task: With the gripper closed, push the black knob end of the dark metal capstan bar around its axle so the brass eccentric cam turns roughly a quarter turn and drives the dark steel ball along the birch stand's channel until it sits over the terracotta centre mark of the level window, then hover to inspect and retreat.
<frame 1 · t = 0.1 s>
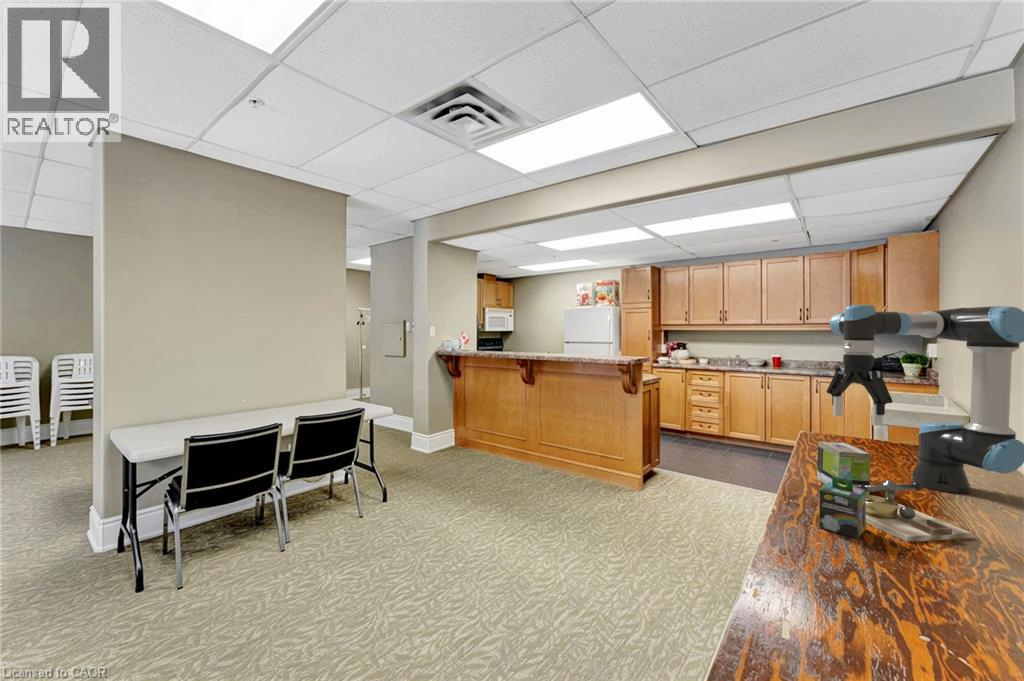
hand: (856, 420, 135), 28 cm above the table, fingers open, 13 cm apart
chalk box: (841, 529, 121), on the table
ball: (907, 512, 124), point 4 cm above the table, slide at 0.0 cm
capstan: (889, 496, 129), point 6 cm above the table, hinge at 0.0°
tea box: (841, 487, 154), on the table
stand board: (889, 517, 129), on the table
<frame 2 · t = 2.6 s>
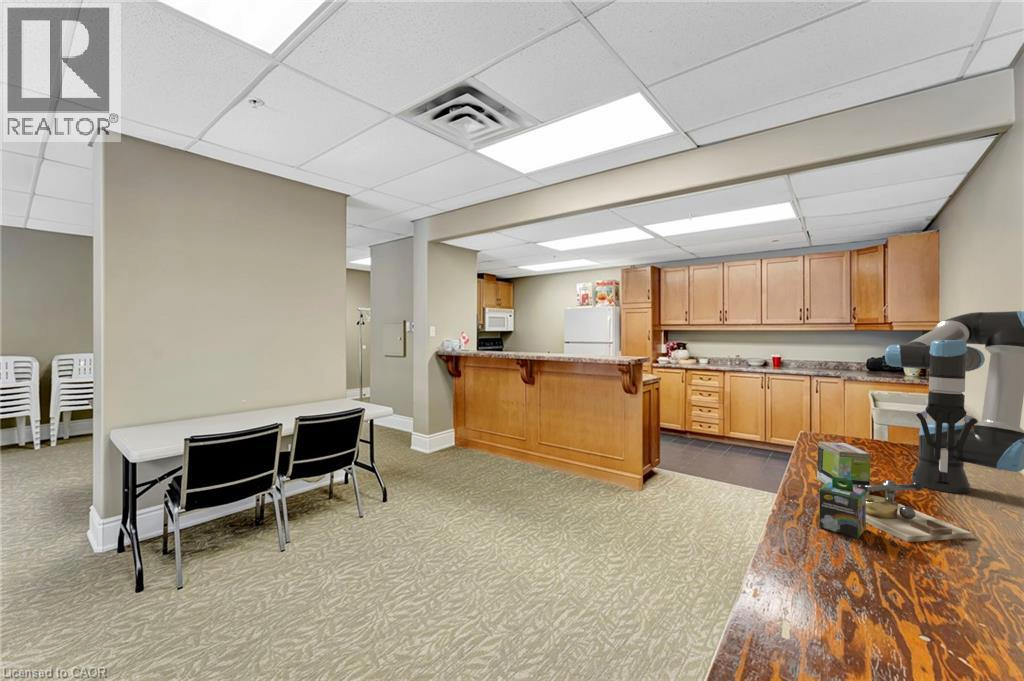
hand: (943, 470, 126), 15 cm above the table, fingers closed
nothing on the table moved.
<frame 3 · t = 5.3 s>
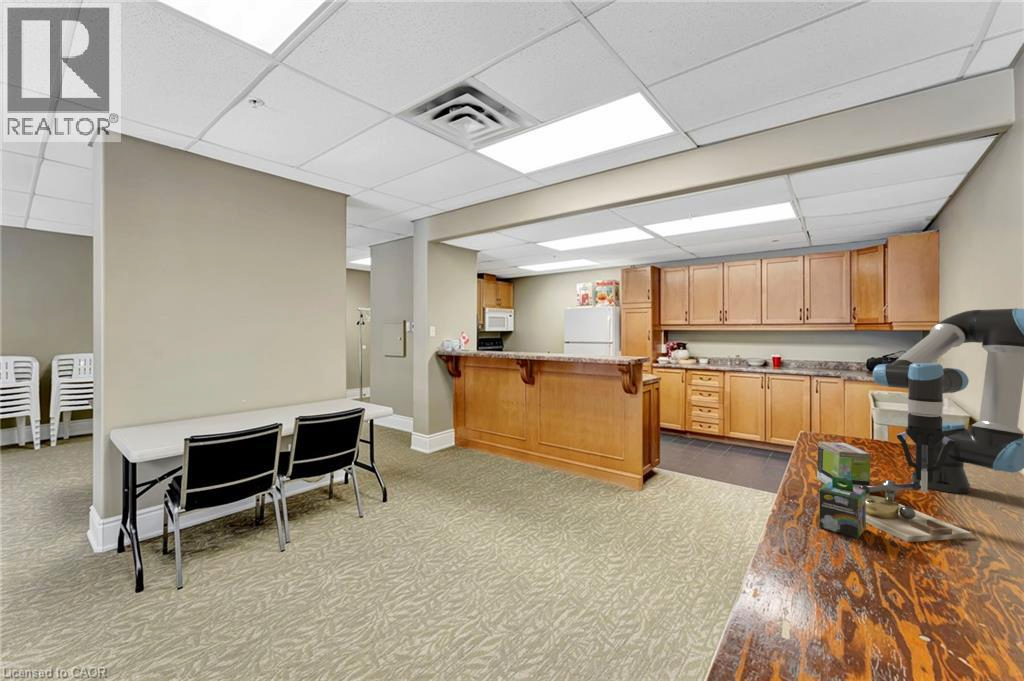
hand: (923, 491, 130), 8 cm above the table, fingers closed
capstan: (889, 496, 129), point 6 cm above the table, hinge at 3.7°, touching gripper
everything else where it was.
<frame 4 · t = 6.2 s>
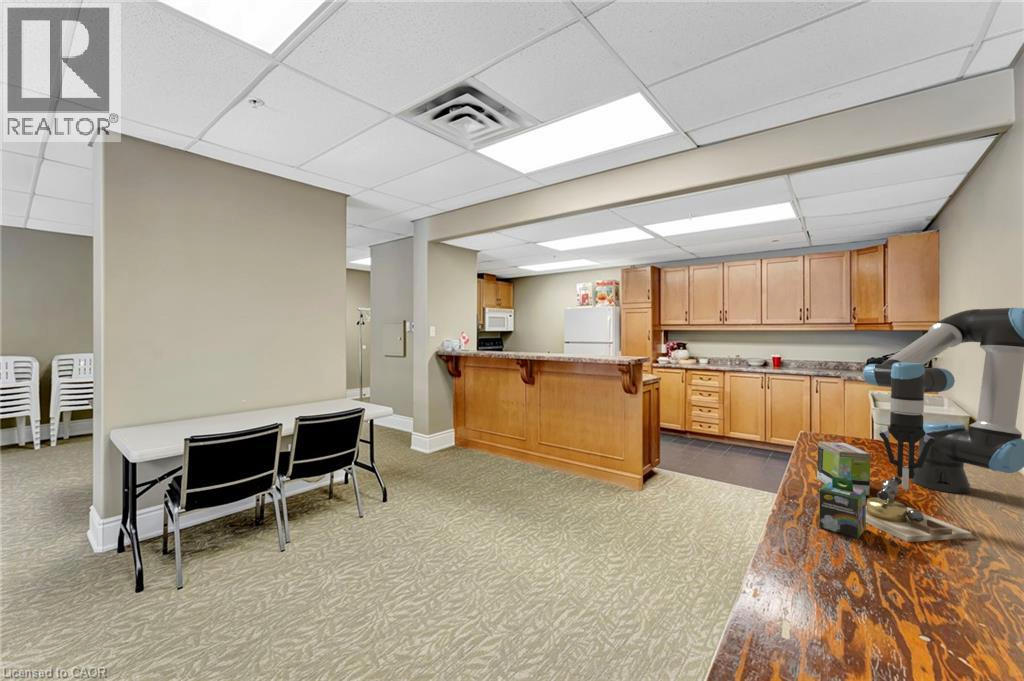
hand: (904, 487, 132), 8 cm above the table, fingers closed
ball: (915, 516, 122), point 4 cm above the table, slide at 2.2 cm
capstan: (889, 496, 129), point 6 cm above the table, hinge at 32.2°, touching gripper
everything else where it was.
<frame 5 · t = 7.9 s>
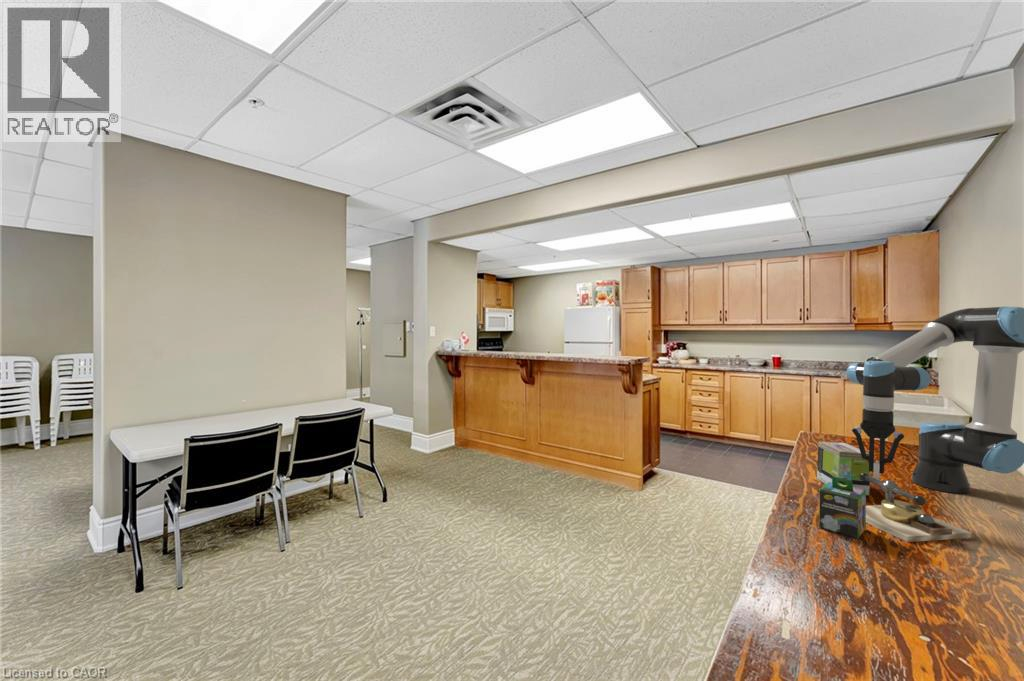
hand: (876, 482, 136), 8 cm above the table, fingers closed
ball: (926, 520, 119), point 4 cm above the table, slide at 5.0 cm
capstan: (889, 496, 129), point 6 cm above the table, hinge at 82.2°, touching gripper
everything else where it was.
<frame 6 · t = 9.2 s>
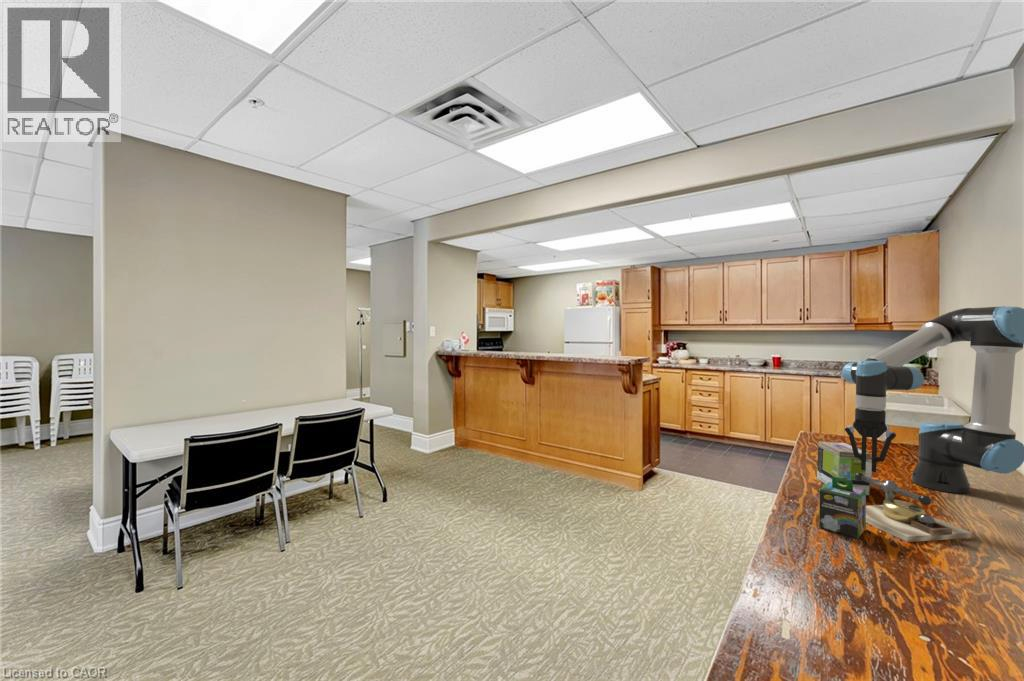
hand: (868, 480, 138), 8 cm above the table, fingers closed
capstan: (889, 496, 129), point 6 cm above the table, hinge at 92.2°, touching gripper
everything else where it was.
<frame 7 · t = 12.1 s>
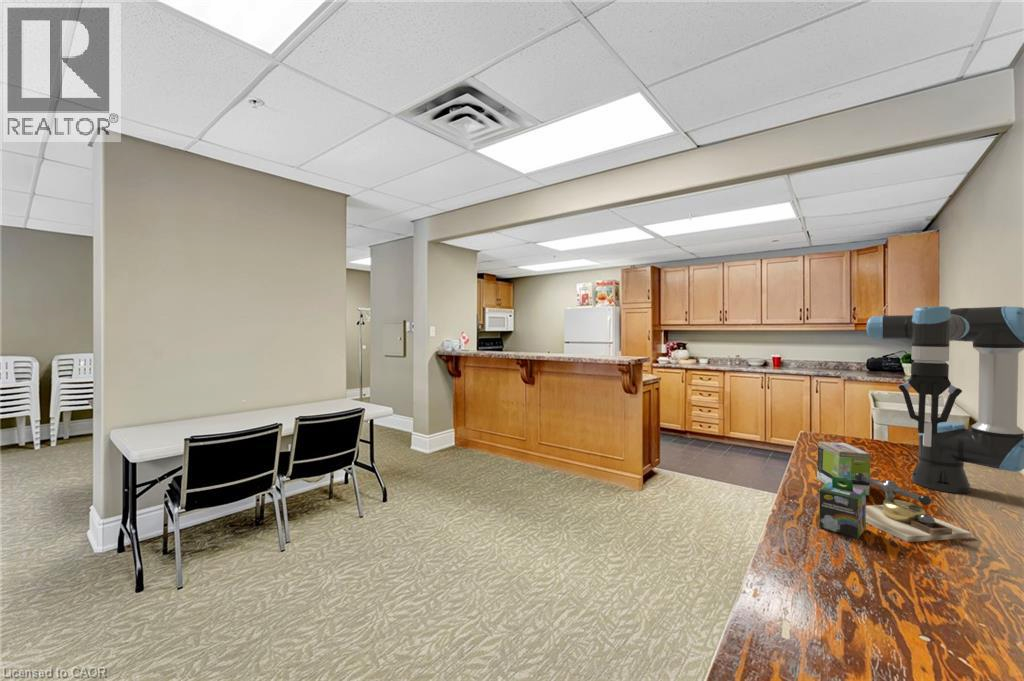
hand: (926, 445, 120), 24 cm above the table, fingers closed
capstan: (889, 496, 129), point 6 cm above the table, hinge at 92.2°
everything else where it was.
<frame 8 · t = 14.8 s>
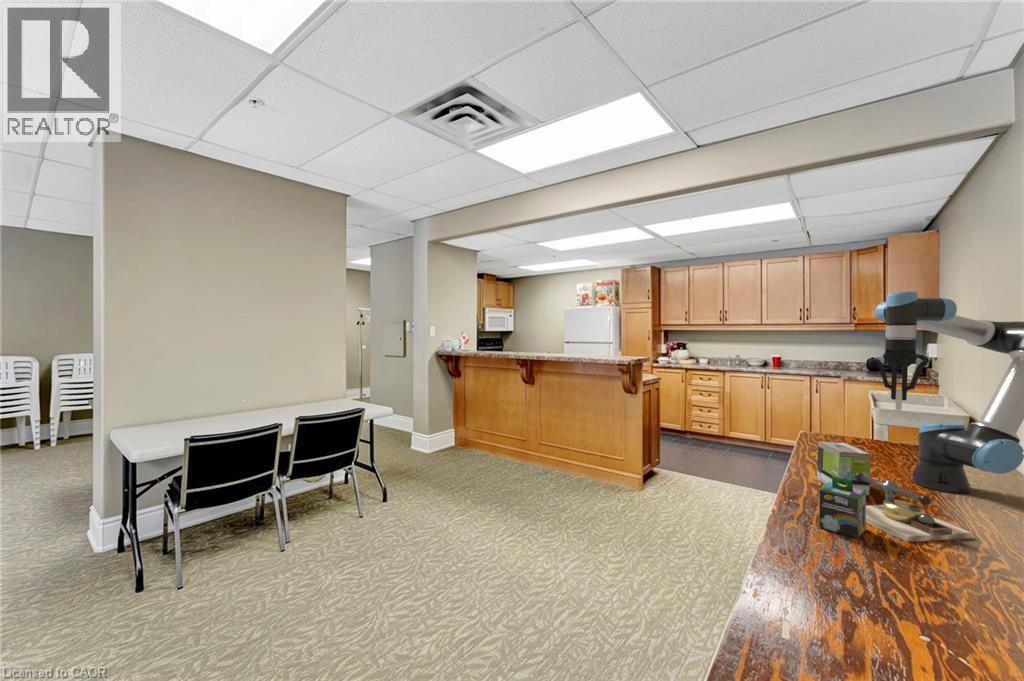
hand: (898, 409, 141), 30 cm above the table, fingers closed
nothing on the table moved.
at the end: ball 0.0 cm from the target spot, resting on stand board; capstan at +92° (first picture: +0°) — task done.
